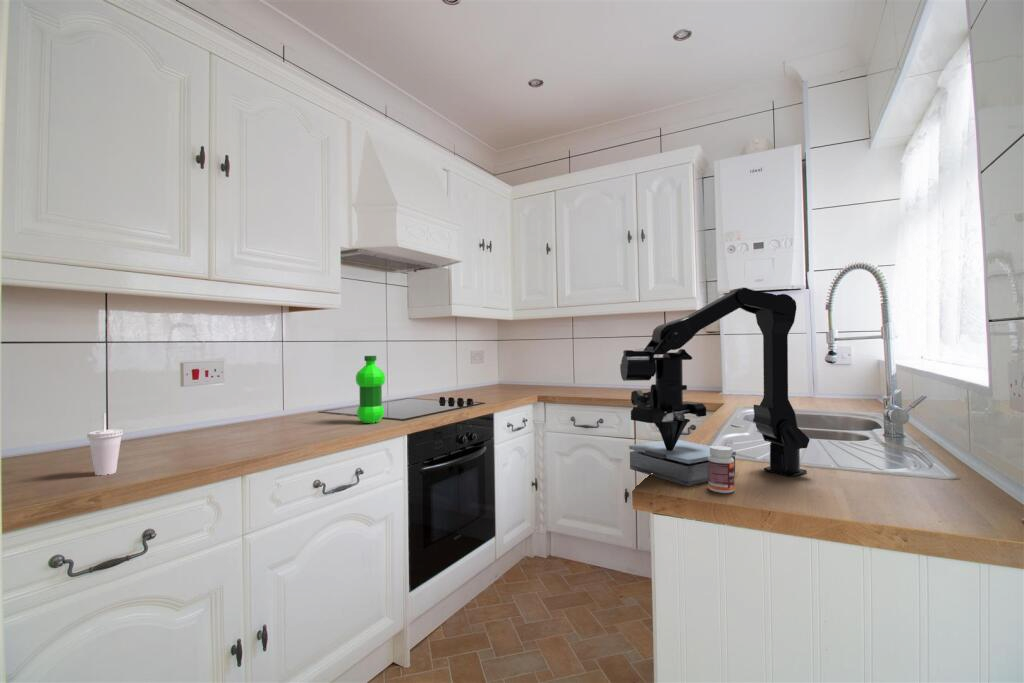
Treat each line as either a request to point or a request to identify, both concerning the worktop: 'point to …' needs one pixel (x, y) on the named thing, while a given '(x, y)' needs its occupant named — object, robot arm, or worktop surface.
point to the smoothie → (105, 449)
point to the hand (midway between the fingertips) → (669, 450)
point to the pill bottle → (721, 469)
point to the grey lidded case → (671, 468)
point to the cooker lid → (676, 451)
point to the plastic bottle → (370, 391)
